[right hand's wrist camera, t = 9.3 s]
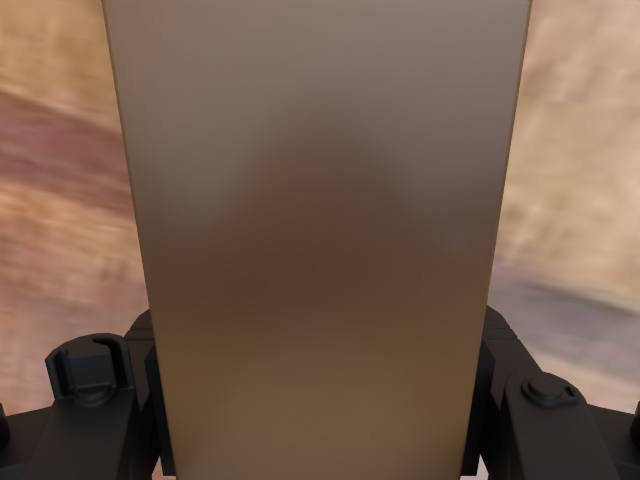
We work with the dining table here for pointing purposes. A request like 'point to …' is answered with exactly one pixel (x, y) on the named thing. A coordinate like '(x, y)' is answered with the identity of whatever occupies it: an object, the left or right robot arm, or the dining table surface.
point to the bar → (317, 223)
